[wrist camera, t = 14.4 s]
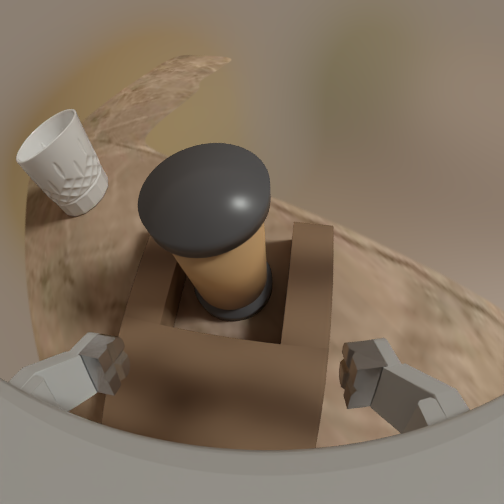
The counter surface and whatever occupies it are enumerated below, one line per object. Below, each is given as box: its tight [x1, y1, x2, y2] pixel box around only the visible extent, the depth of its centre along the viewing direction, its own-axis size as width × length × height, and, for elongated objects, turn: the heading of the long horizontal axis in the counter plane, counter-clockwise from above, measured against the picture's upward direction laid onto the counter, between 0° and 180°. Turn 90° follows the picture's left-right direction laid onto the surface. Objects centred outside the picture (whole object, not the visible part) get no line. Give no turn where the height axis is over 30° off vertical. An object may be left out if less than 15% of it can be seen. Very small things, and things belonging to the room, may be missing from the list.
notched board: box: [101, 222, 333, 450], centre depth 18 cm, size 18×14×2 cm
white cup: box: [16, 109, 108, 217], centre depth 23 cm, size 8×8×10 cm
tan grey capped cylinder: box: [138, 143, 272, 321], centre depth 16 cm, size 7×6×11 cm
